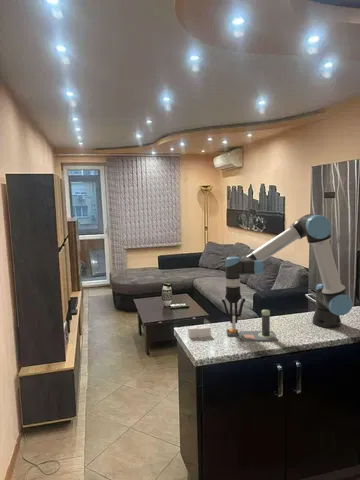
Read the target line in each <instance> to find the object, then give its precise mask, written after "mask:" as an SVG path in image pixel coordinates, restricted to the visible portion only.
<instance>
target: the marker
mask: <svg viewBox="0 0 360 480" xmlns="http://www.w3.org/2000/svg"><path fill="white" fill-rule="evenodd" d="M270 317H271V310H270V309H262V310H261V331H262V335H263V336H270V331H271V329H270V328H271V325H270V323H271V322H270V321H271V318H270Z"/></svg>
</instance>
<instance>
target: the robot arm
mask: <svg viewBox="0 0 360 480" xmlns="http://www.w3.org/2000/svg"><path fill="white" fill-rule="evenodd" d="M331 232H332V223H331V222H330V220H329V219H328V218H327V217H326V216H324V215H323V214H322V215H321V214H313V213H310V214H309V213H308V214H305V215H303V216H300V218H298V219H297V220H295V221H294V222H293V223H291V224H290V225H289V226H288V228H287V229H286V230H284V231H282V232H281V233H279V234H278V235H276V236H275V237H273V238H272V239H270V240H269V241H267V242H266V243H264V244H263V245H260V246H259V247H258V248H257V249H255V250H253V251H252V252H251V253H249V254H247V255H243V256H242V257H241V258H240V257H239V256H228V257H226V259H225V296H224V297H223V298H221V299H220V300H221V302H222V304H223V306H224V310H225V314H226V317H228V318H229V322H230V324H231V327H232V328H231V329H233V330H236V329H237V328H236V324H238V317H241V316H242V311H243V308H244V307H243V306H244V303H245V301H246V298H245V297H243V296H242V294H241V275H242V276H246V275H247V276H249V275H250V276H251V275H255V276H257V275H262V274H263V273H264V261H266V260H267V259H268V258H270V257H272V256H273V255H275V254H276V253H278V252H280V251H281V250H283V249H284V248H286V247H287V246H289V245H290V244H293V242H295V241H297V240H301V239H303V238H306V240H307V243H308V244H309V245H311V248H312V249H313V253H314V254H313V255H314V256H315V261H316V264H317V268H318V271H319V275H320V278H321V282H322V283H318V284H316V286H315V287H316V288H315V310H314V314H313V315H312V319H311V320H312V321H311V322H312V324H314V325H315V326H317V327H320V328H325V329H326V328H327V329H334V328H336V329H337V328H340V327H341V326H342V320H341V317H340V316H344V315H347V314H348V313H350V311H351V310H352V308H353V304H354V303H353V299H351V297H350V296H349V295H348V293H347V289H346V286H345V285H343V284H342V282H341V279H340V276H339V271H338V269H337V265H336V260H335V258H334V254H333V251H332V246H331V243H330V240H331V239H332V235H331ZM227 301H228V303H229V310H228V305H227ZM239 301H240V303H239ZM238 303H239V308H238ZM233 304H234V305H233ZM233 306H234V313H233ZM233 314H234V315H233Z"/></svg>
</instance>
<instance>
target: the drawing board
mask: <svg viewBox="0 0 360 480" xmlns="http://www.w3.org/2000/svg"><path fill="white" fill-rule="evenodd" d="M239 336H240V338H241V341H242V342H278V341H279V339H278V337H277V335H276V334H275V332H274V330H270V336H263V335H262V330H241V331H239Z"/></svg>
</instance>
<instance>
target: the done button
mask: <svg viewBox="0 0 360 480" xmlns="http://www.w3.org/2000/svg"><path fill="white" fill-rule="evenodd" d="M228 333H237V332H236V330H233V329H232V328H229V332H228Z"/></svg>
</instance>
